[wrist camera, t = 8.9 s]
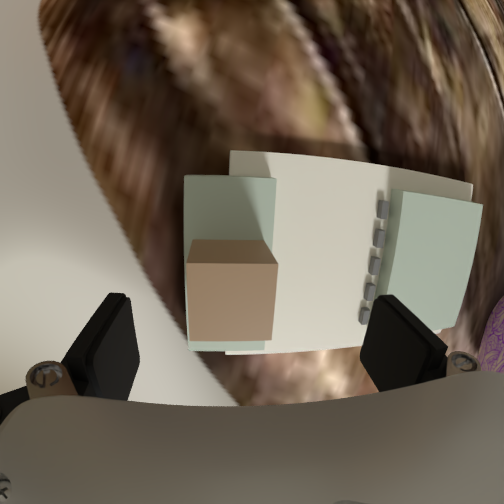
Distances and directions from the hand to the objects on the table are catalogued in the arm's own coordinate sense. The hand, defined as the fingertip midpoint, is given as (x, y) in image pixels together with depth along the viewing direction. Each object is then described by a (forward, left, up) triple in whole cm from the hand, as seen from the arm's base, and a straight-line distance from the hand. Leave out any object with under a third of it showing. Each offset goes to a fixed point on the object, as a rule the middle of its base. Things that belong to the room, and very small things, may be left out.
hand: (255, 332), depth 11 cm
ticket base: (0, +9, -10) cm, 13 cm away
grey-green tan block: (0, -1, -8) cm, 8 cm away
